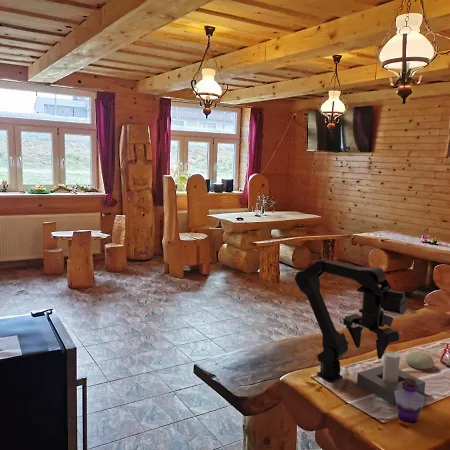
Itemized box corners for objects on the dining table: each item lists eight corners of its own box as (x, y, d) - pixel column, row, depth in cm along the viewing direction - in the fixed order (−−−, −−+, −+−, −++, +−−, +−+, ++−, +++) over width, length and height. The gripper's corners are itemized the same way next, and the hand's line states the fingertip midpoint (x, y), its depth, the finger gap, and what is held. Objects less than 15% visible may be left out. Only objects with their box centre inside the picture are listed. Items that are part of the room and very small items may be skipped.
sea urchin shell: (407, 352, 173) (424, 342, 169) (421, 370, 170) (438, 360, 166) (401, 360, 166) (418, 350, 161) (415, 379, 163) (433, 369, 159)
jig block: (356, 384, 151) (357, 372, 151) (387, 374, 158) (388, 363, 158) (392, 405, 138) (393, 393, 138) (424, 393, 146) (425, 382, 145)
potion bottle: (397, 406, 137) (400, 370, 136) (427, 417, 132) (430, 379, 130) (387, 418, 131) (390, 380, 129) (418, 430, 125) (421, 390, 124)
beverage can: (400, 389, 148) (402, 355, 146) (392, 393, 145) (394, 359, 143) (386, 383, 152) (389, 350, 150) (379, 388, 149) (381, 353, 147)
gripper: (413, 311, 139) (409, 359, 141) (367, 295, 155) (364, 338, 157) (388, 317, 133) (384, 366, 136) (343, 300, 150) (341, 344, 152)
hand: (368, 353), depth 145 cm, fingers open, 9 cm apart
